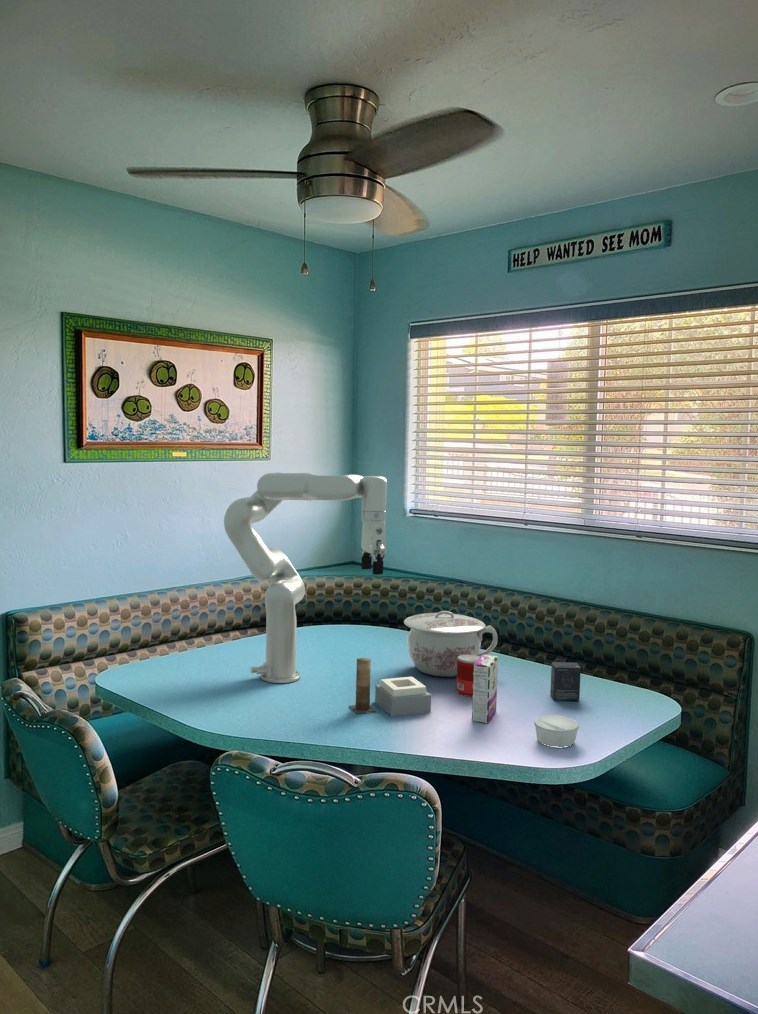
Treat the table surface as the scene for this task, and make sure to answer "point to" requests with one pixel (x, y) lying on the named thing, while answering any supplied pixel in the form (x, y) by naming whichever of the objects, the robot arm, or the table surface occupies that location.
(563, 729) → the ramekin
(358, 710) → the coaster
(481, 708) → the candy bar box
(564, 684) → the box
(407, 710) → the grey white square holder
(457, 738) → the table surface
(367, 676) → the brown rounded cylinder
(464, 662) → the canned food
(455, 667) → the chamber pot
